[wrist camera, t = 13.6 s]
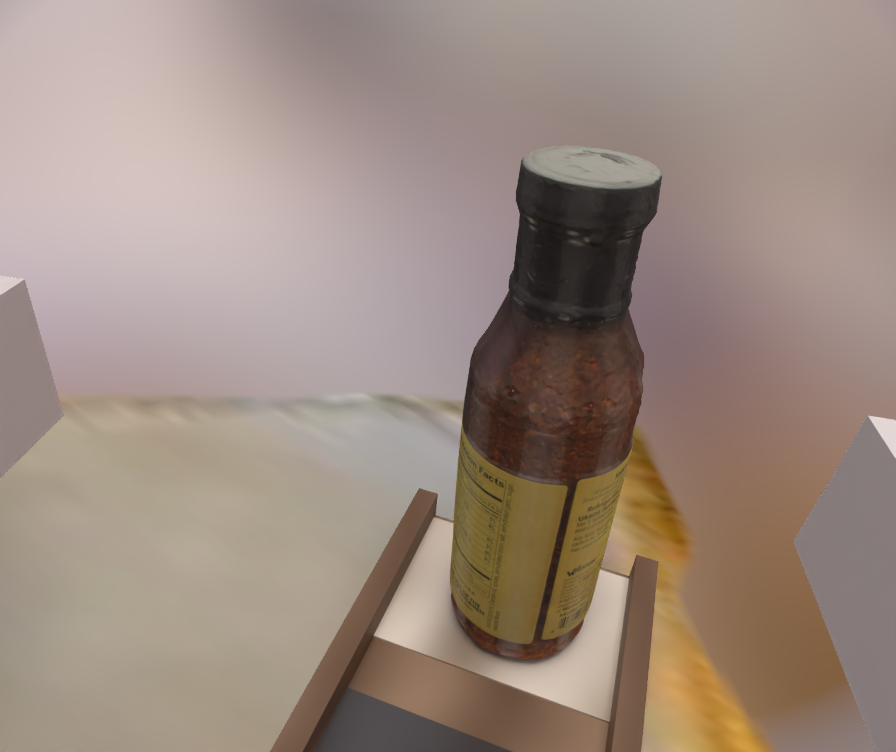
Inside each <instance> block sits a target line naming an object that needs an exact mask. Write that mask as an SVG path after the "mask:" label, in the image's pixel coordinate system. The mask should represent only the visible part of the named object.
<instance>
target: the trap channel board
mask: <svg viewBox="0 0 896 752" xmlns="http://www.w3.org/2000/svg"><path fill="white" fill-rule="evenodd" d="M437 496H438V494H436V493H433V492H430V491H426V490H423V489H420V488H419V490H418V491H417V493H416V495H415V497H414V498H413V500H412V502H411V504H410V506H409V507H408V509H407V511H406V513H405V514H404V516H403V518H402V520H401V521H400V523H399V525H398V527H397V528H396V530H395V532H394V534H393V536H392V537H391V539H390V541H389V543H388V544H387V546H386V548H385V550H384V551H383V553H382V555H381V557H380V559H379V560H378V562H377V564H376V566H375V567H374V569H373V571H372V573H371V574H370V576H369V578H368V580H367V582H366V583H365V585H364V587H363V589H362V590H361V592H360V594H359V596H358V597H357V599H356V601H355V603H354V604H353V606H352V608H351V610H350V612H349V613H348V615H347V617H346V619H345V620H344V622H343V624H342V626H341V627H340V629H339V631H338V633H337V635H336V636H335V638H334V640H333V642H332V643H331V645H330V647H329V649H328V650H327V652H326V654H325V656H324V658H323V659H322V661H321V663H320V665H319V666H318V668H317V670H316V672H315V673H314V675H313V677H312V679H311V680H310V682H309V684H308V686H307V688H306V689H305V691H304V693H303V695H302V696H301V698H300V700H299V702H298V703H297V705H296V707H295V709H294V711H293V712H292V714H291V716H290V718H289V719H288V721H287V723H286V725H285V726H284V728H283V730H282V732H281V734H280V735H279V737H278V739H277V741H276V742H275V744H274V746H273V748H272V749H271V751H270V752H641V746H642V735H643V724H644V713H645V702H646V691H647V680H648V669H649V658H650V647H651V636H652V625H653V614H654V603H655V592H656V581H657V570H658V561H654V560H651V559H648V558H645V557H641V556H638V555H637V556H636V559H635V561H634V564H633V567H632V570H631V572H630V575H629V576H627V575H623V574H620V573H617V572H614V571H611V570H608V569H604V568H600V572H599V576H598V580H597V583H596V587H595V591H594V595H593V598H592V602H591V605H590V607H589V610H588V612H587V614H586V616H585V618H584V622H583V625H582V628H581V629H580V632H579V633H578V634H577V635H576V636H575V637H574V639H573V640H572V641H571V642H569V643H568V644H567V645H566V646H565V647H564V648H563V649H562V650H561V651H559V652H557V653H555V654H554V655H552V656H549V657H546V658H542V659H538V660H527V659H518V658H513V657H507V656H503V655H499V654H497V653H494V652H492V651H489V650H486V649H483V648H482V647H481V646H480V645H479V644H477V643H476V642H475V641H474V639H473V638H472V636H469V634H468V633H467V631H466V630H465V628H464V627H463V625H462V624H461V622H460V620H459V618H458V617H457V614H456V612H455V609H454V607H453V604H452V600H451V591H452V590H451V585H450V566H451V553H452V541H453V523H454V521H452V520H449V519H446V518H442V517H439V516H436V515H435V514H436V505H437Z"/></svg>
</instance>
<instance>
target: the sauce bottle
mask: <svg viewBox="0 0 896 752" xmlns="http://www.w3.org/2000/svg"><path fill="white" fill-rule="evenodd" d="M661 179H662V176H661V172H660V171H659V169H658V168H657V167H656V166H655V165H654V164H652V163H650V162H648V161H646V160H643V159H640V158H639V157H637V156H634V155H629V154H625V153H621V152H617V151H612V150H603V149H598V148H594V147H587V146H574V145H570V146H554V147H547V148H542V149H538V150H535V151H533V152H531V153H529V154H528V155H526V156H525V157H524V158H523V159H522V161H521V167H520V173H519V179H518V185H517V190H516V202H517V205H518V209H519V212H520V220H519V230H518V236H517V244H516V255H515V262H514V270H513V271H512V273H511V275H510V279H509V292H508V294H507V296H506V298H505V300H504V301H503V303H502V305H501V307H500V309H499V310H498V312H497V314H496V316H495V317H494V319H493V321H492V322H491V324H490V326H489V327H488V329H487V330H486V331H485V333H484V334H483V335H482V337H481V338H480V339H479V341H478V343H477V345H476V346H475V348H474V351H473V354H472V357H471V361H470V368H469V375H468V381H467V388H466V394H465V401H464V408H463V418H462V428H461V438H460V448H459V458H458V470H457V483H456V495H455V509H454V523H453V541H452V553H451V566H450V585H451V590H452V591H451V600H452V604H453V607H454V609H455V612H456V614H457V617H458V618H459V620H460V622H461V624H462V625H463V627H464V628H465V630H466V631H467V633H468V634H469V636H472V638H473V639H474V641H475V642H476V643H477V644H479V645H480V646H481V647H482V648H483V649H486V650H489V651H492V652H494V653H497V654H499V655H503V656H507V657H513V658H518V659H527V660H538V659H542V658H546V657H549V656H552V655H554V654H555V653H557V652H559V651H561V650H562V649H563V648H564V647H565V646H566V645H567V644H568V643H569V642H571V641H572V640H573V639H574V637H575V636H576V635H577V634H578V633H579V632H580V629H581V628H582V625H583V622H584V618H585V616H586V614H587V612H588V610H589V607H590V605H591V602H592V598H593V595H594V591H595V587H596V583H597V580H598V576H599V572H600V568H601V564H602V560H603V556H604V553H605V549H606V545H607V541H608V537H609V533H610V530H611V526H612V522H613V518H614V514H615V510H616V507H617V503H618V499H619V495H620V492H621V488H622V484H623V481H624V477H625V473H626V469H627V466H628V462H629V459H630V455H631V451H632V448H633V428H634V425H635V422H636V418H637V415H638V413H639V408H640V405H641V397H642V393H643V383H642V375H643V368H644V354H643V352H642V350H641V347H640V344H639V342H638V339H637V335H636V332H635V329H634V325H633V322H632V319H631V316H630V313H629V309H628V307H629V305H630V302H631V298H632V293H631V284H632V281H633V276H634V273H635V269H636V261H637V259H638V252H639V248H640V244H641V239H642V234H643V231H644V229H645V228H646V227H647V225H648V224H649V223H650V221H651V220H652V219H653V218H654V216H655V215H656V213H657V205H658V200H659V193H660V186H661Z"/></svg>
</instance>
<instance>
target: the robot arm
mask: <svg viewBox="0 0 896 752" xmlns="http://www.w3.org/2000/svg"><path fill="white" fill-rule="evenodd" d="M63 416H64V415H63V411H62V408H61V404H60V401H59V397H58V394H57V390H56V387H55V383H54V380H53V376H52V373H51V370H50V366H49V363H48V359H47V356H46V352H45V349H44V346H43V342H42V339H41V335H40V331H39V328H38V325H37V321H36V317H35V314H34V311H33V307H32V304H31V300H30V297H29V293H28V290H27V287H26V283H25V280H24V279H19V278H12V277H6V276H1V275H0V478H1V477H2V476H3V475H4V474H5V473H6V472H7V471H8V470H9V469H10V468H11V467H12V466H13V465H14V464H15V463H16V462H17V461H18V460H19V459H20V458H21V457H22V456H23V455H24V454H25V453H26V452H27V451H28V450H29V449H30V448H31V447H32V446H33V445H34V444H35V443H36V442H37V441H38V440H39V439H40V438H41V437H42V436H44V435H45V434H46V433H47V432H48V431H49V430H50V429H51V428H52V427H53V426H54V425H55V424H56V423H57V422H58V421H59V420H60V419H61V418H62V417H63ZM794 544H795V546H796V549H797V552H798V554H799V557H800V559H801V562H802V565H803V567H804V570H805V572H806V575H807V577H808V580H809V583H810V585H811V588H812V590H813V593H814V595H815V598H816V600H817V603H818V605H819V608H820V611H821V613H822V616H823V619H824V621H825V624H826V626H827V629H828V631H829V634H830V636H831V639H832V642H833V644H834V647H835V649H836V652H837V654H838V657H839V660H840V662H841V665H842V667H843V670H844V672H845V675H846V677H847V680H848V683H849V685H850V688H851V690H852V693H853V696H854V698H855V701H856V703H857V706H858V708H859V711H860V713H861V716H862V719H863V721H864V724H865V726H866V729H867V731H868V734H869V737H870V739H871V741H872V744H873V747H874V749H875V752H896V420H892V419H885V418H879V417H873V416H868V417H867V418H866V420H865V422H864V423H863V425H862V426H861V428H860V430H859V432H858V433H857V435H856V437H855V438H854V440H853V442H852V444H851V445H850V447H849V448H848V450H847V452H846V453H845V455H844V457H843V459H842V460H841V462H840V464H839V465H838V467H837V469H836V470H835V472H834V474H833V475H832V477H831V479H830V481H829V482H828V484H827V486H826V488H825V489H824V491H823V492H822V494H821V496H820V497H819V499H818V501H817V502H816V504H815V506H814V508H813V509H812V511H811V513H810V514H809V516H808V518H807V520H806V521H805V523H804V524H803V526H802V528H801V529H800V531H799V533H798V535H797V536H796V538H795V540H794Z"/></svg>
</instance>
